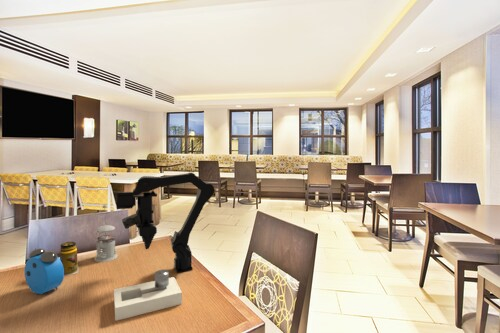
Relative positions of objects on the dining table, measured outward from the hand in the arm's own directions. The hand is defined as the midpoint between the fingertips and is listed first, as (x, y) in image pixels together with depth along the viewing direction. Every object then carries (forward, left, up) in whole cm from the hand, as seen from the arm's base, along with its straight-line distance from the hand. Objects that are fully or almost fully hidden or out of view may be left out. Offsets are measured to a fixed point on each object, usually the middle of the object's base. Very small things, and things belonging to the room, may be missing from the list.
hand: (145, 245), depth 111 cm
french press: (+15, -26, -12) cm, 32 cm away
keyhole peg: (-2, +22, -12) cm, 25 cm away
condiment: (+29, -16, -12) cm, 35 cm away
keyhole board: (+2, +22, -12) cm, 25 cm away
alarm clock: (+34, -2, -12) cm, 36 cm away
